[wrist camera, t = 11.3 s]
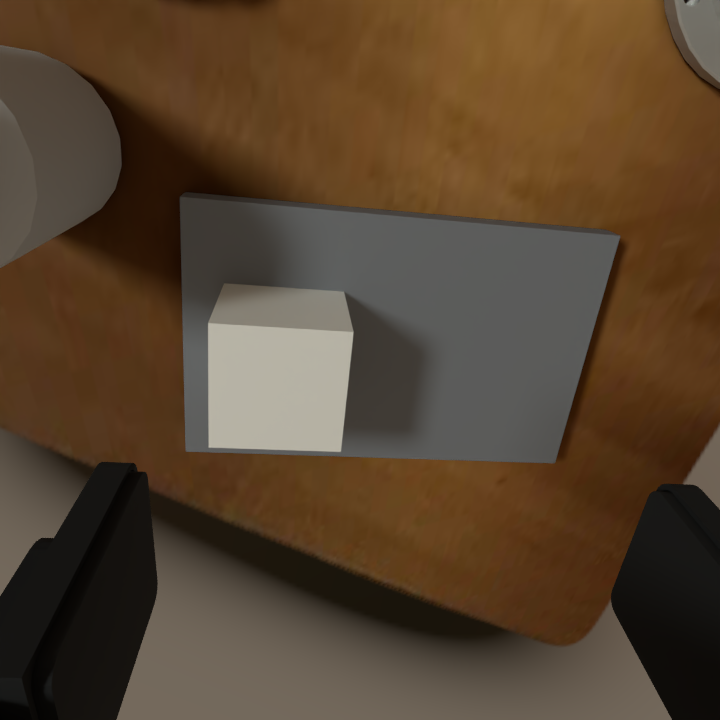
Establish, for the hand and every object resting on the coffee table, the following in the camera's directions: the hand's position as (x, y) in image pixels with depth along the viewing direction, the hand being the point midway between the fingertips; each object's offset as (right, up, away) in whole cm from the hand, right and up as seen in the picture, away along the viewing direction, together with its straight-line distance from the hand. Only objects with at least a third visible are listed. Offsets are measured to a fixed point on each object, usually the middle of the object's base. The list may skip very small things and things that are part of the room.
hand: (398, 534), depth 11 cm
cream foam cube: (-5, +4, +19) cm, 20 cm away
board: (+1, +5, +21) cm, 22 cm away
